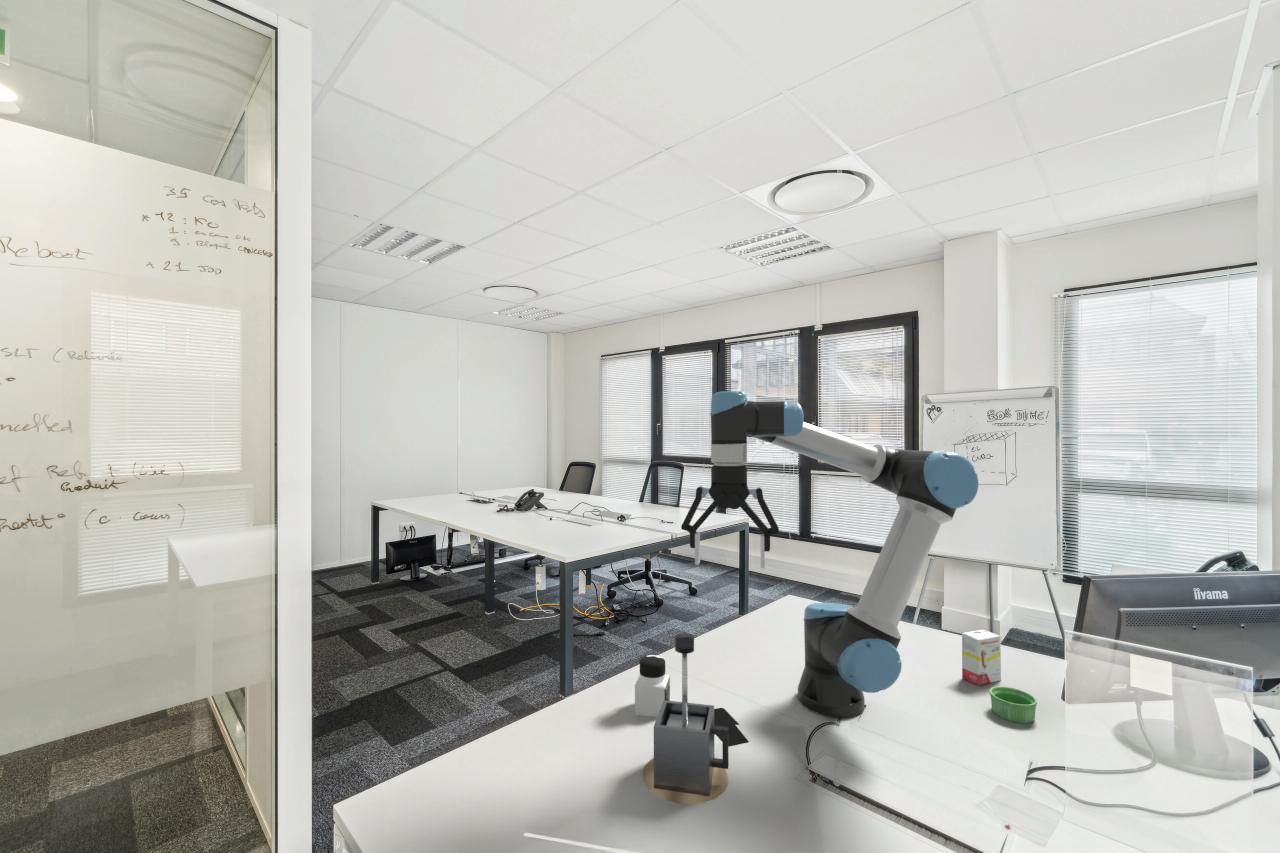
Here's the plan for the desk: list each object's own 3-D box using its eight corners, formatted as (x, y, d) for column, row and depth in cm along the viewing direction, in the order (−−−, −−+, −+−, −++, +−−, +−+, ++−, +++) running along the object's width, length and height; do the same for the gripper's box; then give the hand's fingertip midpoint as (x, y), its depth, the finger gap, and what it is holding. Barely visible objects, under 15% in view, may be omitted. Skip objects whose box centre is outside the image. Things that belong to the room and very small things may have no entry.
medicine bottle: (665, 719, 121) (665, 665, 121) (634, 716, 122) (634, 663, 123) (670, 704, 128) (669, 653, 128) (640, 701, 129) (640, 651, 130)
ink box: (978, 686, 136) (977, 639, 136) (961, 678, 141) (960, 633, 141) (1002, 680, 139) (1001, 635, 139) (984, 673, 144) (983, 628, 144)
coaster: (731, 757, 106) (731, 755, 106) (725, 812, 91) (725, 810, 91) (652, 747, 110) (652, 745, 110) (633, 798, 94) (633, 796, 94)
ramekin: (980, 707, 126) (979, 688, 126) (1012, 703, 128) (1011, 684, 128) (1014, 727, 117) (1013, 706, 117) (1047, 722, 119) (1047, 702, 119)
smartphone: (723, 707, 126) (756, 741, 111) (723, 710, 126) (756, 745, 111) (696, 711, 123) (726, 746, 109) (696, 714, 123) (726, 751, 109)
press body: (730, 764, 103) (729, 707, 104) (726, 798, 94) (726, 735, 94) (663, 756, 106) (663, 700, 107) (653, 788, 97) (653, 726, 97)
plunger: (705, 720, 103) (704, 631, 103) (701, 740, 96) (700, 645, 97) (670, 716, 105) (669, 629, 105) (663, 735, 98) (663, 642, 98)
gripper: (789, 464, 114) (790, 564, 114) (674, 463, 120) (674, 558, 119) (790, 465, 107) (791, 572, 106) (667, 464, 113) (668, 566, 112)
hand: (729, 565), depth 113 cm, fingers open, 13 cm apart
